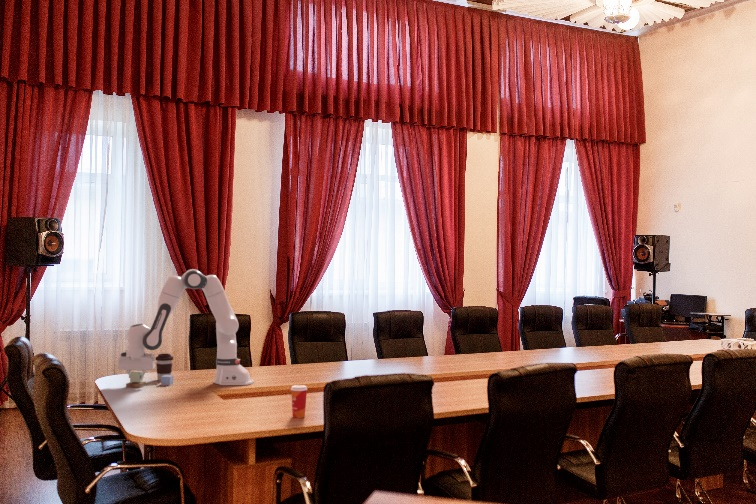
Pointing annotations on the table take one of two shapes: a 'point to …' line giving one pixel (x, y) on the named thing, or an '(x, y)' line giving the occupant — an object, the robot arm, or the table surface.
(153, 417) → the table surface
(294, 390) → the paper cup
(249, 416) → the table surface
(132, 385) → the baseplate
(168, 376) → the blue block
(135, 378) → the green block
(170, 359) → the coffee cup
